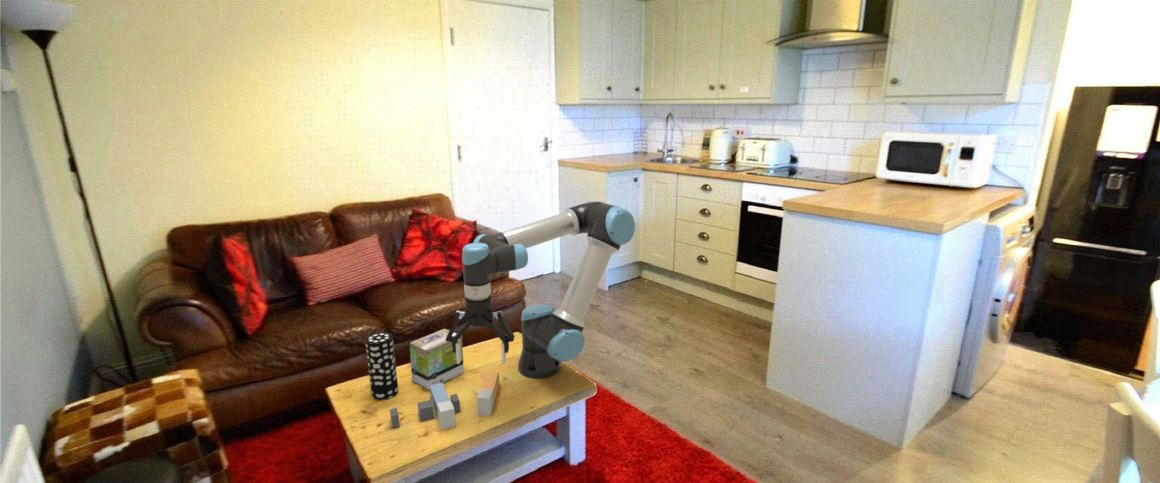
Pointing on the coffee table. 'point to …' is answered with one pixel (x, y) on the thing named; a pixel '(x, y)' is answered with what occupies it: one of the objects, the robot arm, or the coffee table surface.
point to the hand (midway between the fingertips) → (481, 361)
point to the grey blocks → (424, 410)
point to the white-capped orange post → (488, 393)
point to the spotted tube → (381, 365)
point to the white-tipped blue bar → (442, 406)
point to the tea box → (434, 359)
